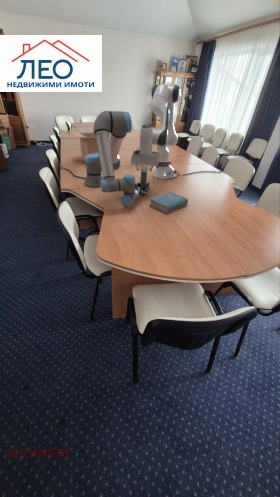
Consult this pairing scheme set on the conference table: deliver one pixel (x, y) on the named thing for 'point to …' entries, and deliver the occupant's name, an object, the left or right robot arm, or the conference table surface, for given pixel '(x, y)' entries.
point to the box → (87, 143)
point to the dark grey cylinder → (143, 180)
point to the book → (168, 202)
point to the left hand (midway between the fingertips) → (145, 183)
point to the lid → (144, 169)
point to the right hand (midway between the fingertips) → (144, 170)
